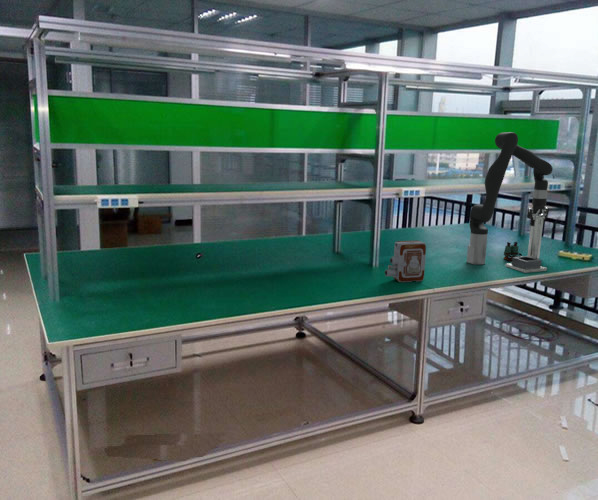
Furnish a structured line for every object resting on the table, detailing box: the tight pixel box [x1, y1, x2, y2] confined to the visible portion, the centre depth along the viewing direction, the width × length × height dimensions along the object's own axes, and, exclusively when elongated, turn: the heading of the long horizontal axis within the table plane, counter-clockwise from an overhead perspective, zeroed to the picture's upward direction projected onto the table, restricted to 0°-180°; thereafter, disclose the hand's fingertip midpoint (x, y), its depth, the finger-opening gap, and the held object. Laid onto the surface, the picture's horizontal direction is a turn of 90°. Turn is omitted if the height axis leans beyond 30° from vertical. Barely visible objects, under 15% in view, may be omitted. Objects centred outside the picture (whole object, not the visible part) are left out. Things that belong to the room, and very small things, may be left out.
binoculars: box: [503, 241, 523, 262], centre depth 323 cm, size 9×11×10 cm
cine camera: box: [384, 240, 427, 283], centre depth 275 cm, size 9×19×20 cm, turn 103°
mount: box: [504, 255, 548, 274], centre depth 304 cm, size 15×15×6 cm
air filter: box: [527, 215, 544, 260], centre depth 328 cm, size 6×6×25 cm
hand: (536, 225), depth 326 cm, fingers closed on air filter, 6 cm apart
